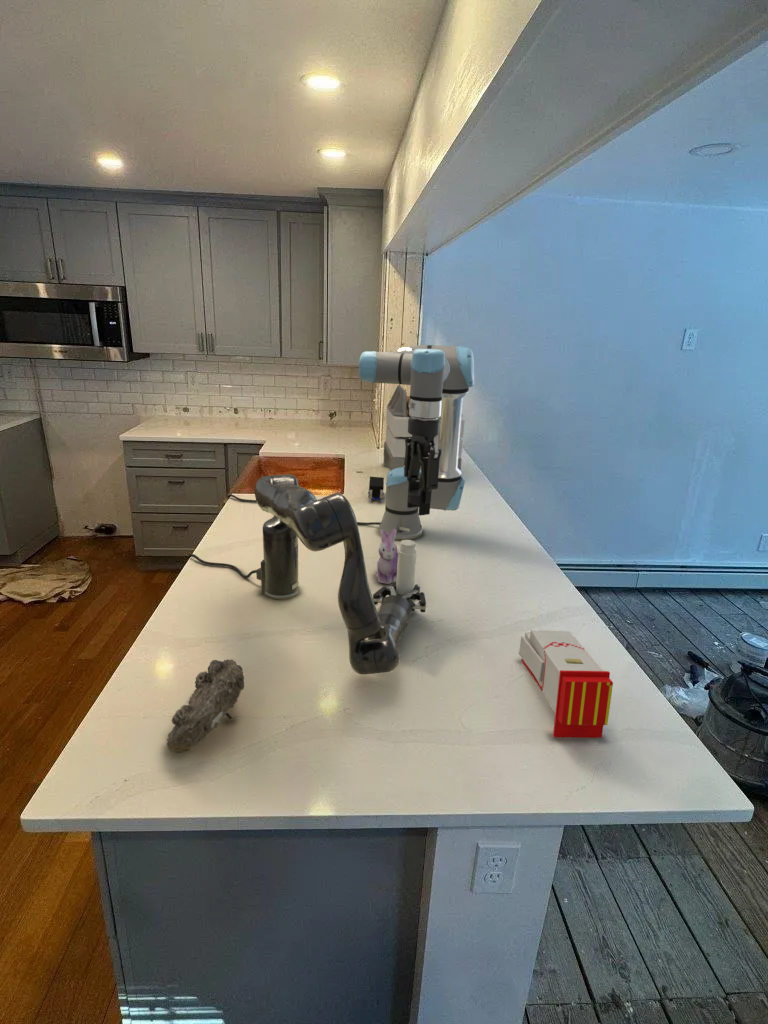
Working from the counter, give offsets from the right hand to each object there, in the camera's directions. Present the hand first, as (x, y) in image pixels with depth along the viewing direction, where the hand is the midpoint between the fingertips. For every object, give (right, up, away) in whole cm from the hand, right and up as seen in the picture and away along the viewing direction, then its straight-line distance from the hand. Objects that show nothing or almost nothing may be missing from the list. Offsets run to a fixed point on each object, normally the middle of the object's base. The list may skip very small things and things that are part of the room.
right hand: (418, 510), depth 141 cm
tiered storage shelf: (+9, +18, +134) cm, 136 cm away
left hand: (-2, -20, +8) cm, 22 cm away
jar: (-3, -26, +8) cm, 28 cm away
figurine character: (-12, +5, +95) cm, 96 cm away
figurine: (-7, -20, +26) cm, 33 cm away
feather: (-48, -2, +71) cm, 86 cm away
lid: (0, +4, -2) cm, 4 cm away
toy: (+28, -38, -21) cm, 52 cm away
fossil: (-41, -39, -33) cm, 66 cm away
